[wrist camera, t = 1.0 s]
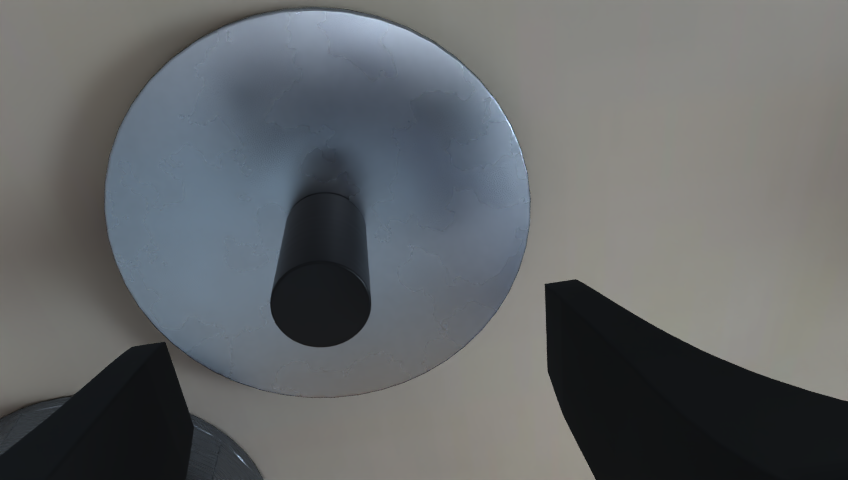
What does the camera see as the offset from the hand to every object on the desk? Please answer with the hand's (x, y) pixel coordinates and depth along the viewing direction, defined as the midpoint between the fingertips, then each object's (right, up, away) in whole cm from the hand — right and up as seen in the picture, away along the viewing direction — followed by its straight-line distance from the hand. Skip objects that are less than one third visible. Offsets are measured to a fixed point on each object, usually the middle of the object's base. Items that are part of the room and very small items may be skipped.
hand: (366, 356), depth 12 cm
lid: (-2, +3, +8) cm, 8 cm away
